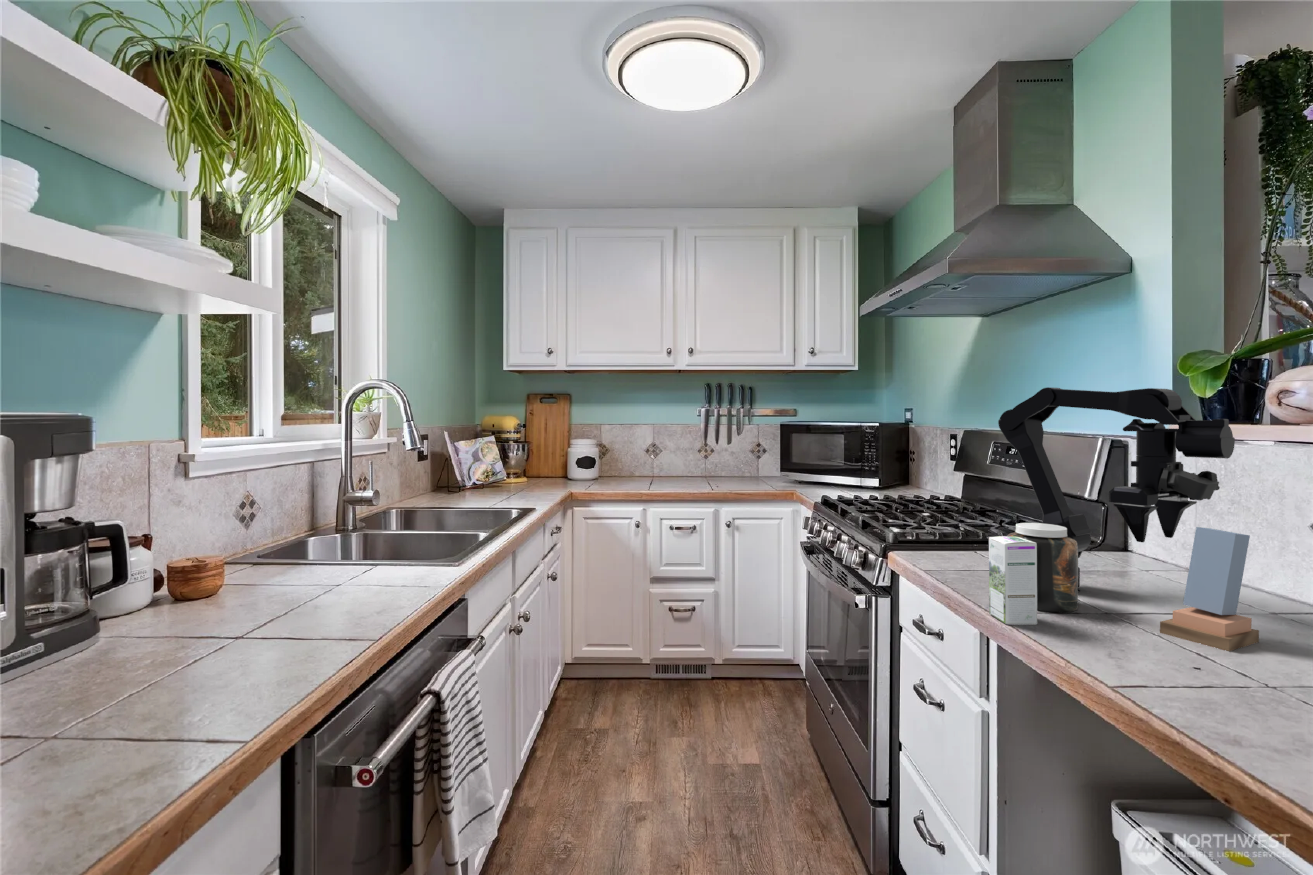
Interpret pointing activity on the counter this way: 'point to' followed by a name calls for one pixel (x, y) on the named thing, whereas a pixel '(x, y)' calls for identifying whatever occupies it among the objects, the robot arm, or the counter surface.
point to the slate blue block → (1216, 570)
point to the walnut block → (1209, 636)
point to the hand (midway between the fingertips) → (1154, 539)
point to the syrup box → (1013, 580)
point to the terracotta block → (1212, 621)
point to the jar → (1053, 565)
